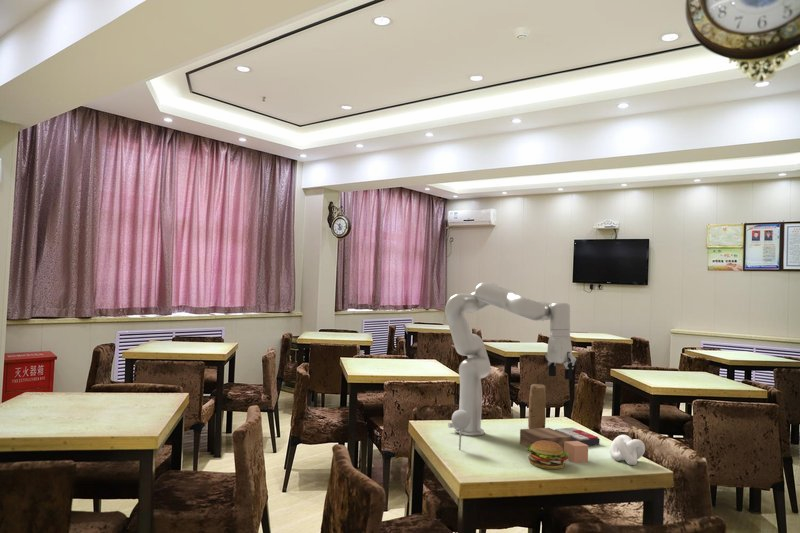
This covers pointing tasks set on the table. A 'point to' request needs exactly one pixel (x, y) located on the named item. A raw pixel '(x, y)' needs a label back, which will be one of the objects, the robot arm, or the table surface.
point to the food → (547, 455)
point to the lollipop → (460, 421)
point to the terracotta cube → (576, 451)
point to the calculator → (580, 436)
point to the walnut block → (542, 436)
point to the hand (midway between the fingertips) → (560, 377)
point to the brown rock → (537, 406)
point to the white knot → (627, 449)
